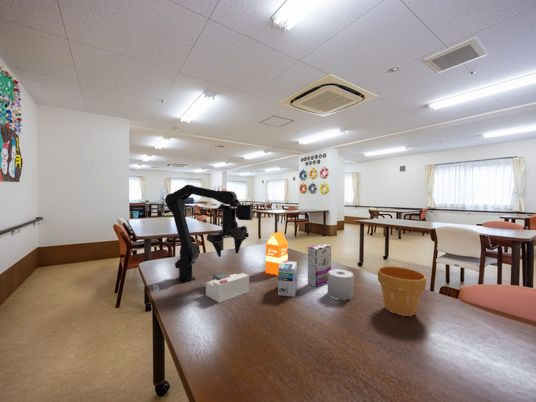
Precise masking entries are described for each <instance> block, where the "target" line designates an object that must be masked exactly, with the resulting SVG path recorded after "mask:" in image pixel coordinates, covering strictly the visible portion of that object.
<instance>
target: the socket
mask: <svg viewBox="0 0 536 402" xmlns="http://www.w3.org/2000/svg"><path fill="white" fill-rule="evenodd" d="M228 276H230V277H228V278H224V279H221V280H216V279H215V280H213V279H211V280H209V281H206V282H205V296H207V297H209V298H210V299H212V300H214V301H215V302H217V303H218V304H219V303H222V302H226V301H228V300H230V299H233V298H236V297H238V296H241V295H243V294H246V293H249V292H250V274H249V275H248V274H247V273H243V272H242V273H238V274H237V273H233V274H230V275H228Z"/></svg>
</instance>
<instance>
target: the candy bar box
mask: <svg viewBox="0 0 536 402" xmlns="http://www.w3.org/2000/svg"><path fill="white" fill-rule="evenodd" d="M330 270H332V245H331V244H325V243H322V244H317V245H312V246H308V247H307V284H308V285H309V284H310V285H309V286H312V285H313V286H312V287H315V288H317V286H318V287H320V286H322V285H324V284H323V283H325V282H327V281H328V272H329V271H330ZM327 283H328V282H327ZM321 284H322V285H321ZM325 284H326V283H325ZM319 285H320V286H319Z"/></svg>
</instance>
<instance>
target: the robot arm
mask: <svg viewBox="0 0 536 402" xmlns="http://www.w3.org/2000/svg"><path fill="white" fill-rule="evenodd" d="M192 195H195V196H199V197H203V198H204V197H205V198H209V199H213V200H215V201H217V202H218V203H220V205H219V206H218V207H217V210H221V212H222V213H221V217H222V218H221V219H222V220H221V221H220V222H219V223H220V225H221V230H220V231H219V233H218V232H217V233H216V232H212V233H208V234H207V235H206V241H207V242H209V243H211V244H212V246H213V247H214V251H216V252H215V253H216V254H217V256H218V257H219V258H221V256H222V244H223V241H222V240H224V239H229V238H232V239H233V240H234V241H233V242H234V250H235V254H238V253H239V251H240V248H241V245H242V243H243V242H244V241H245V240H247V238H249V237H250V236H249V232H248V228H247V226H246V225H242V226H238V222H237V221H236V219H237V220H238V221H252V220H253V217H254V212H253V206H252V204H242V203H241V202H240V200H239V199H238V196H237V193H236V192H235V191H232V190H216V189H215V190H214V189H210V188H205V187H201V186H197V185H193V184H186V185H183V186H182V187H181V188H179V189H177V190H175V191H174V192H172V193H168V194H167V195H165V198H164V202H165V205H166V207H167V209H168V210H169V211H170V213H171V214H172V216H173V220H174V223H175V227H176V232H177V236H178V238H179V243H180V248H179V259H178V260H177V261H176V262H175V263H174V267H175V268H176V269H178V277H175V280H177V281H178V282H179V283H185V282H190V281H194V280H196V277H194V276H193V265H194V264H195V263H196V260H198V258H199V256H200V250H199V246H198V243H196V244H194V242H193V241H192V237H191V234H190V231H189V226H188V223H187V218H186V214H185V206H186V202H185V201H186V200H188V199H189V198H190V196H192Z"/></svg>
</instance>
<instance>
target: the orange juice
mask: <svg viewBox="0 0 536 402" xmlns="http://www.w3.org/2000/svg"><path fill="white" fill-rule="evenodd" d="M288 244H289V242H288V241H287V240H286V238H285V235H284V234H283V232H282V231H278V232H274V233H272V234H271V235H270V237H269V238H268V240H267V242H266V243H265V274H269V273H270V275H273V274H275V275H274V276H278V268H279V266H280V264H281V262H282V261H288V255H289V254H288V247H289V246H288Z"/></svg>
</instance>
